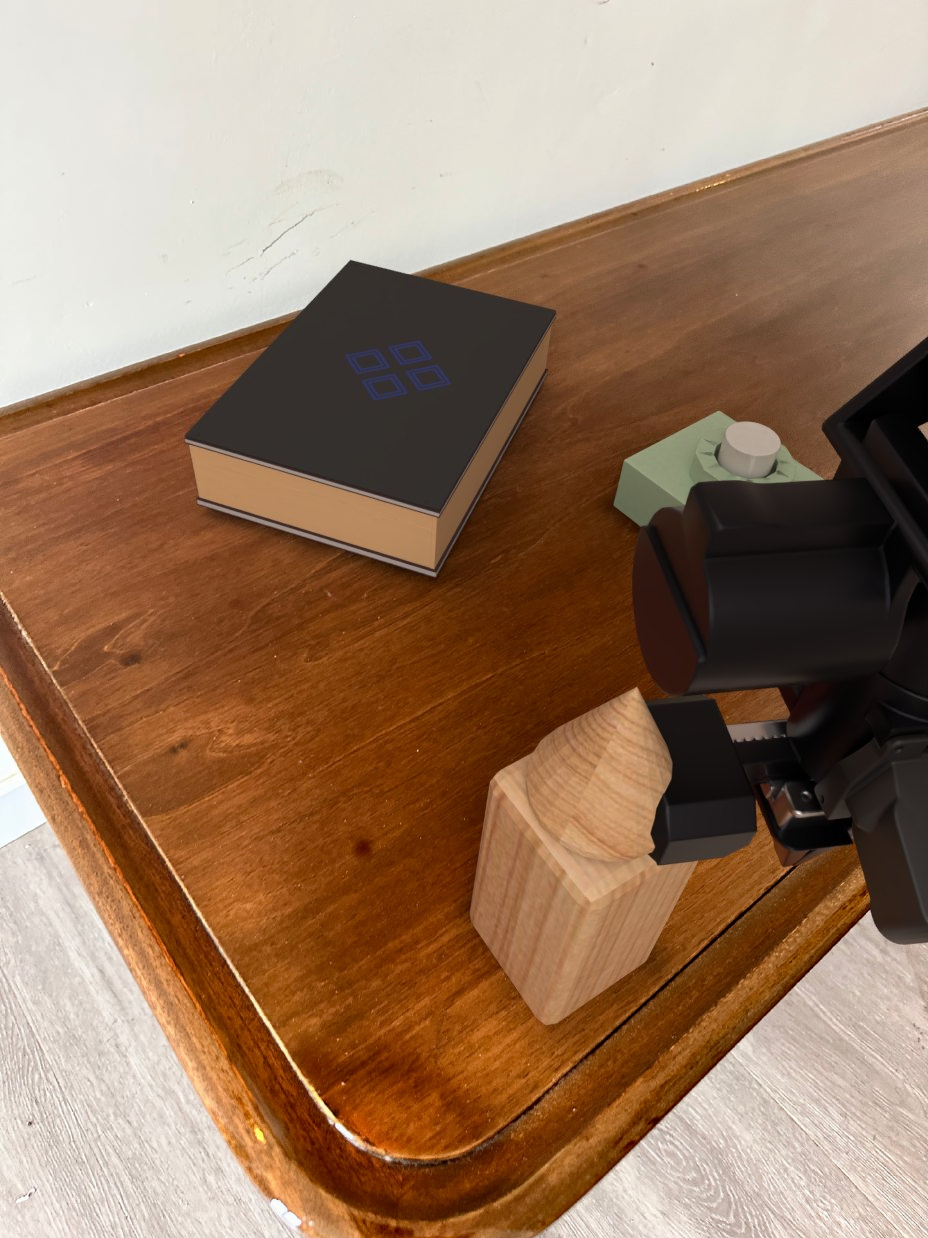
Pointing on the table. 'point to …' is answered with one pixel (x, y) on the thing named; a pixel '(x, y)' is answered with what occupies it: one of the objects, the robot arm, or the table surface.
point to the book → (375, 415)
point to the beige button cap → (749, 450)
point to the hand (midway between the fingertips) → (785, 857)
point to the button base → (688, 469)
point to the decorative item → (577, 858)
